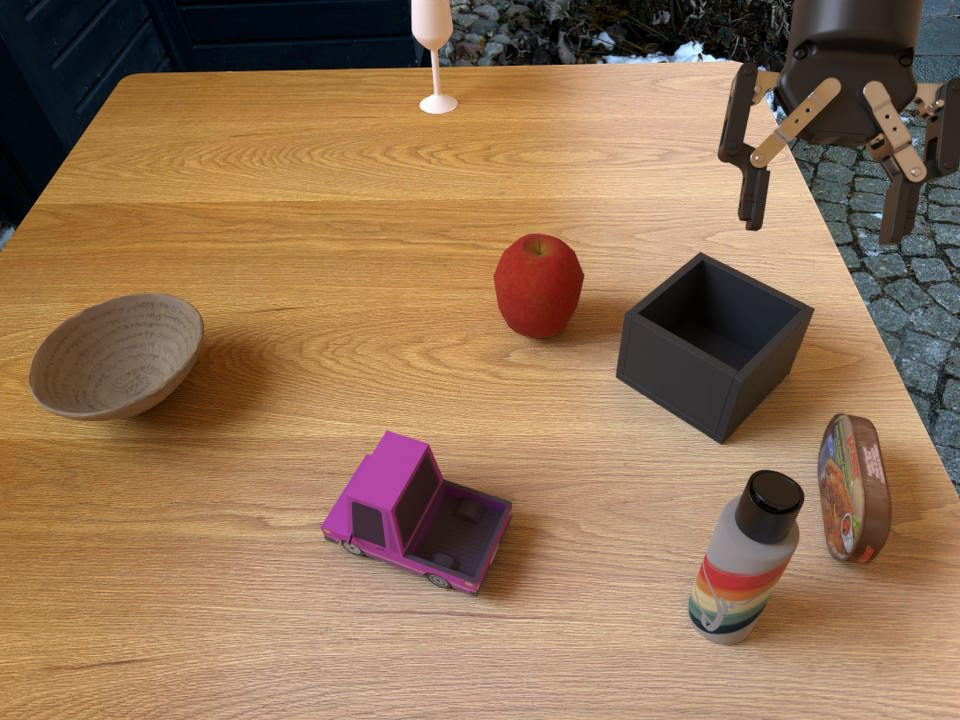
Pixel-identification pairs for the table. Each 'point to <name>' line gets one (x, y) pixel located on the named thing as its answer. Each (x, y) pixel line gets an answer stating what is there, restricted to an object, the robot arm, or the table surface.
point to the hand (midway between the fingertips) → (820, 236)
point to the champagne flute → (433, 46)
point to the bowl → (117, 357)
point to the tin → (853, 490)
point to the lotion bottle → (746, 557)
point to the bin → (711, 344)
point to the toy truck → (418, 517)
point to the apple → (538, 285)
